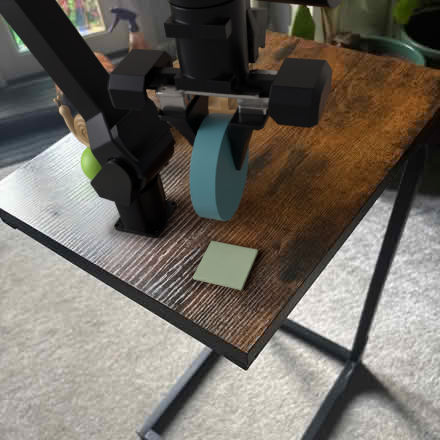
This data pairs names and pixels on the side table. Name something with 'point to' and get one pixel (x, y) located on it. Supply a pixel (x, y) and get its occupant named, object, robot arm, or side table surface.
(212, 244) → the felt pad
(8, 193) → the side table surface
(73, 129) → the snail figurine
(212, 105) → the rack
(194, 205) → the disc
